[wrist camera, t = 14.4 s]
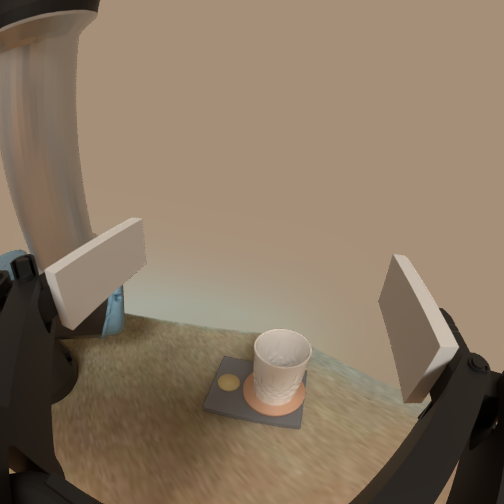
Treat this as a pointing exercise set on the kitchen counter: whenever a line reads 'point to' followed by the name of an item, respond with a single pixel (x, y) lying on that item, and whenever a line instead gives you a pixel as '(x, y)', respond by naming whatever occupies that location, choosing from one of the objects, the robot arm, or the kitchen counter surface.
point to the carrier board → (250, 397)
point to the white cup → (279, 365)
